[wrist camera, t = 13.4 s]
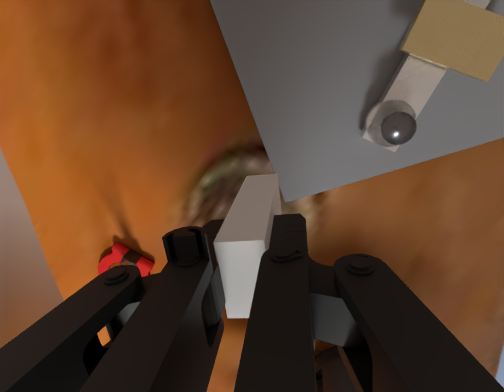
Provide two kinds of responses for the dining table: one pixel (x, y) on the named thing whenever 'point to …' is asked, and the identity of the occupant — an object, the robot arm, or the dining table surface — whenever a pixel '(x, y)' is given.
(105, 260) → the tow hook
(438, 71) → the lever
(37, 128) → the dining table surface
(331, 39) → the base plate
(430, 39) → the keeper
